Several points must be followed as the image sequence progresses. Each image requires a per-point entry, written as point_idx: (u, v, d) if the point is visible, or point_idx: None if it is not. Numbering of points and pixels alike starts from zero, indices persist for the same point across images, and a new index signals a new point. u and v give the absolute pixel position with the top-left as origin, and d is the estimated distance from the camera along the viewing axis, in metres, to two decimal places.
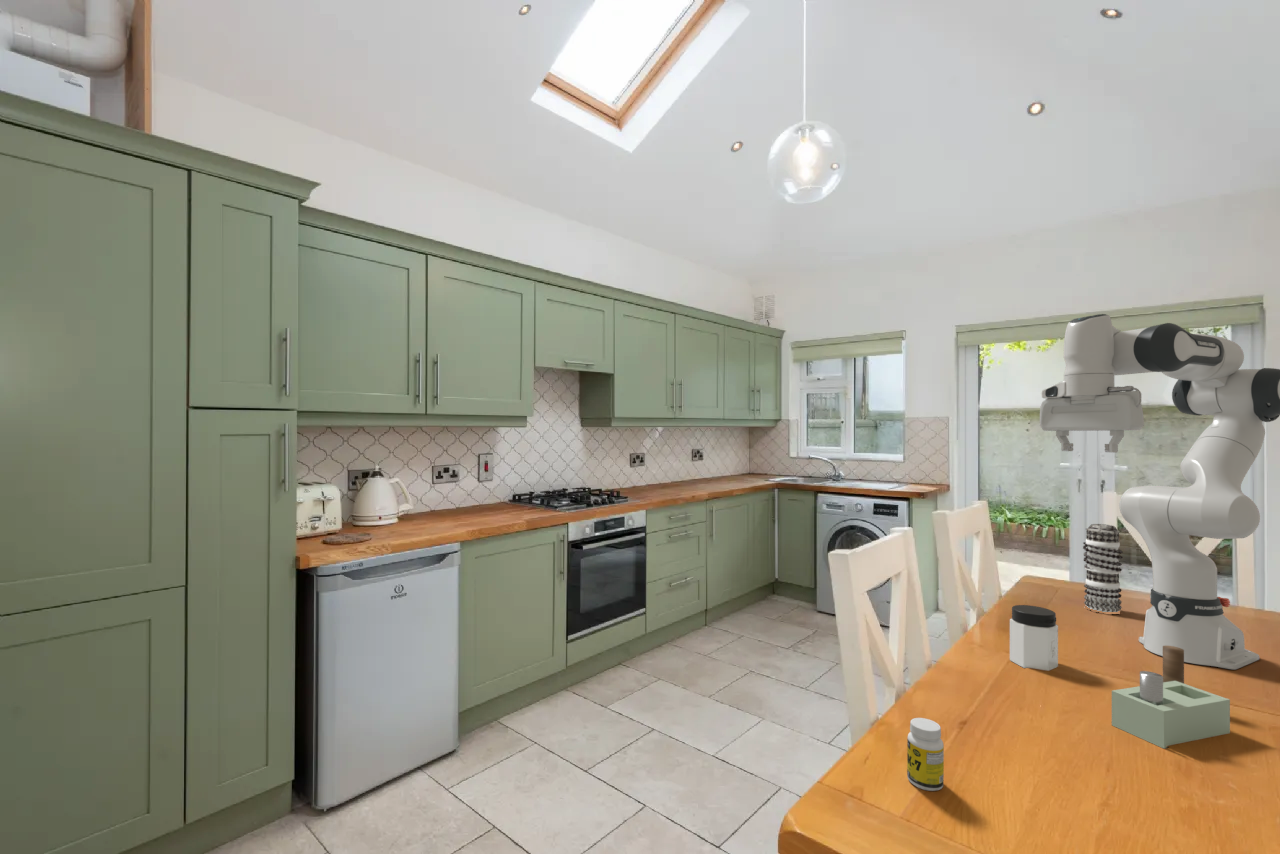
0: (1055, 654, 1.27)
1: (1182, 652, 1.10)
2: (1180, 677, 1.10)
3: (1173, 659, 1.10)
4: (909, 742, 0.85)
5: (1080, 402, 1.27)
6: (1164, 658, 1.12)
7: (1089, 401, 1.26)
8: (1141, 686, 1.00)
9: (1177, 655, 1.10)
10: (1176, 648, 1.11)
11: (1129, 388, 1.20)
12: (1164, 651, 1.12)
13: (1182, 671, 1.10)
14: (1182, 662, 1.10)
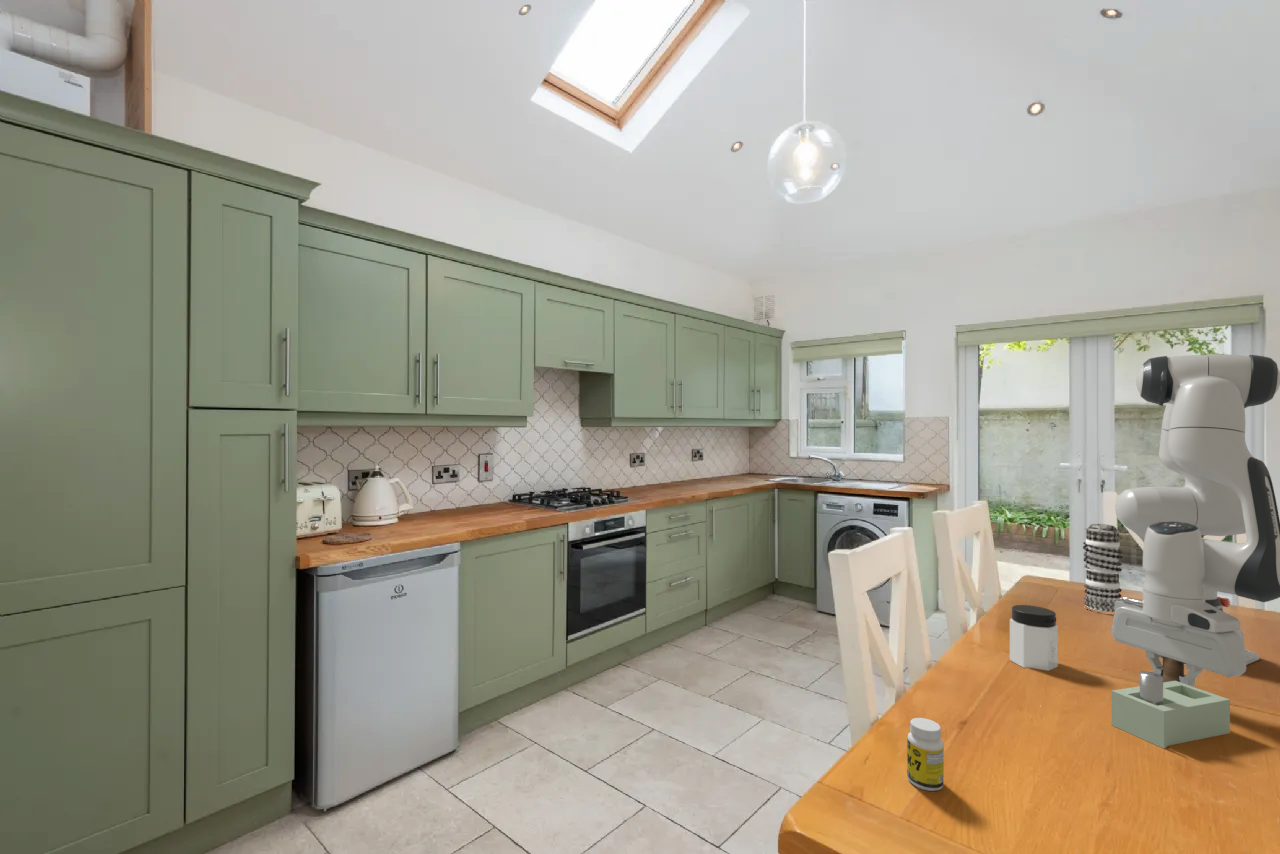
0: (1055, 654, 1.27)
1: None
2: None
3: (1173, 659, 1.10)
4: (909, 742, 0.85)
5: None
6: (1164, 658, 1.12)
7: None
8: (1141, 686, 1.00)
9: None
10: None
11: None
12: None
13: (1182, 671, 1.10)
14: (1182, 662, 1.10)
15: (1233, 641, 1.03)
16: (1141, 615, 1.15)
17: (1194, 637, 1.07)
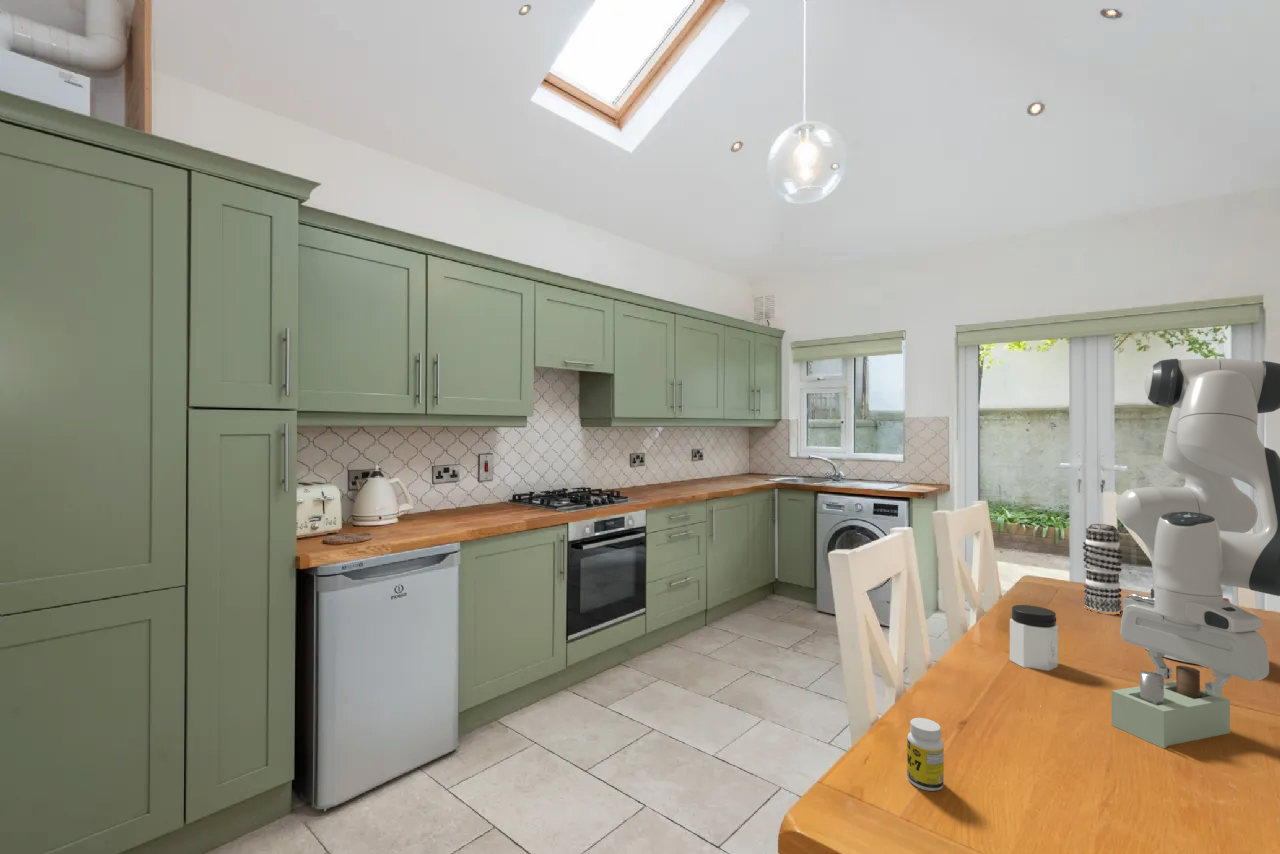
0: (1055, 654, 1.27)
1: (1198, 673, 1.01)
2: None
3: (1188, 681, 1.01)
4: (909, 742, 0.85)
5: None
6: (1178, 680, 1.03)
7: None
8: (1142, 686, 1.00)
9: (1192, 677, 1.01)
10: (1191, 669, 1.02)
11: None
12: (1178, 672, 1.03)
13: (1198, 694, 1.01)
14: (1198, 684, 1.01)
15: (1254, 642, 0.94)
16: (1152, 613, 1.06)
17: (1211, 637, 0.98)
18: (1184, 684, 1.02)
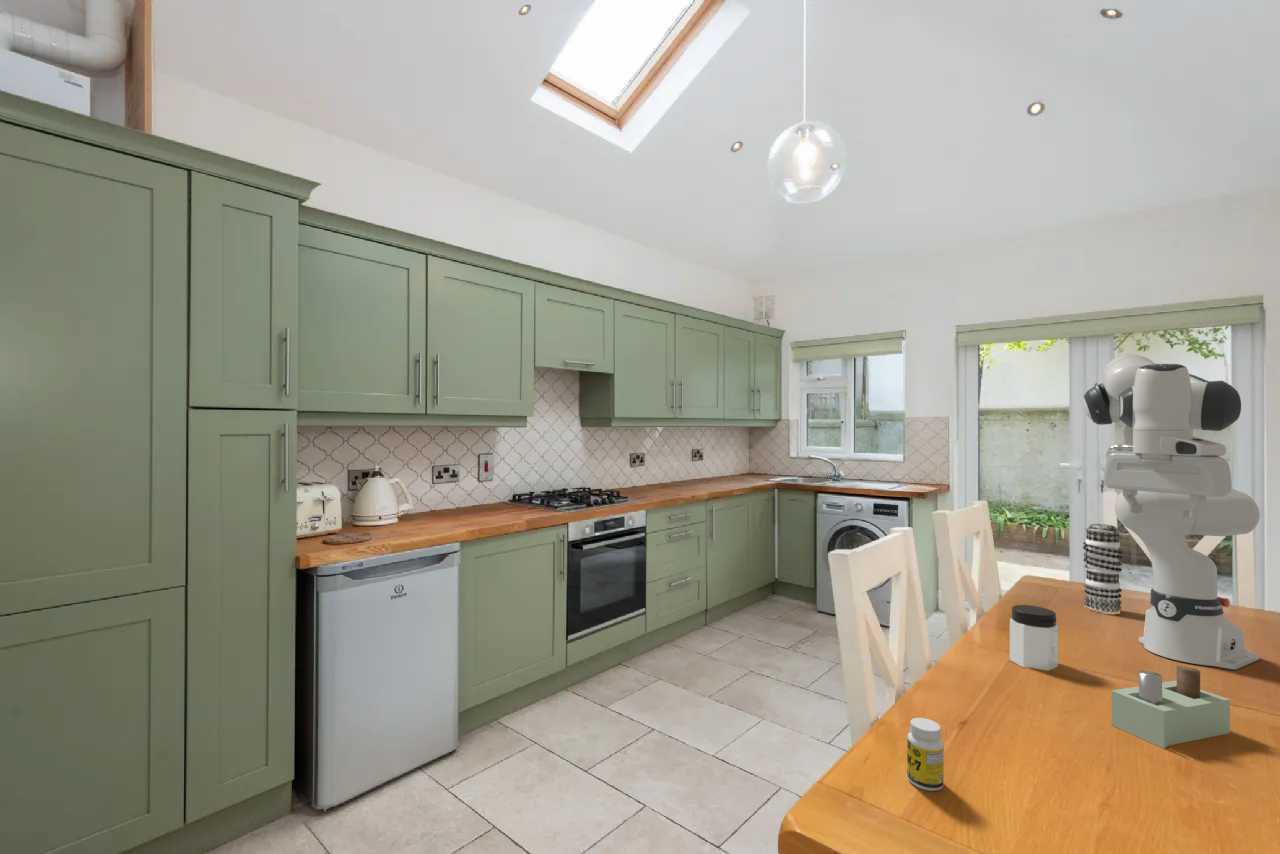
0: (1055, 654, 1.27)
1: (1198, 673, 1.01)
2: None
3: (1188, 681, 1.01)
4: (909, 742, 0.85)
5: None
6: (1178, 680, 1.03)
7: None
8: (1140, 686, 1.00)
9: (1192, 677, 1.01)
10: (1191, 669, 1.02)
11: None
12: (1178, 672, 1.03)
13: (1198, 694, 1.01)
14: (1198, 684, 1.01)
15: (1218, 463, 1.06)
16: (1131, 457, 1.19)
17: (1182, 466, 1.11)
18: (1184, 684, 1.02)
